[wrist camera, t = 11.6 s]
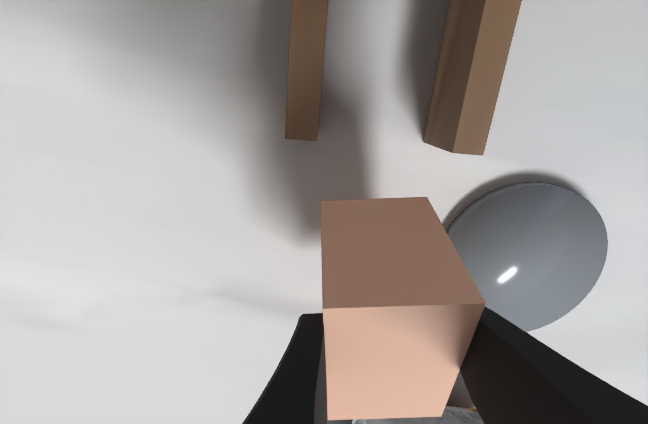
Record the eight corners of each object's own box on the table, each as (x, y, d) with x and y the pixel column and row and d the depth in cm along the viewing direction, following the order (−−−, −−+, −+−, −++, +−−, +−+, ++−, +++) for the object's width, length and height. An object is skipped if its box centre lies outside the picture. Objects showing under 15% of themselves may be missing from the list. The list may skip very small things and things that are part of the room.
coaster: (623, 189, 16) (635, 192, 16) (566, 331, 19) (573, 338, 19) (454, 175, 16) (459, 178, 15) (421, 322, 19) (424, 329, 18)
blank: (426, 197, 12) (485, 303, 8) (407, 303, 15) (441, 416, 11) (320, 200, 12) (322, 308, 8) (324, 305, 15) (327, 420, 11)
